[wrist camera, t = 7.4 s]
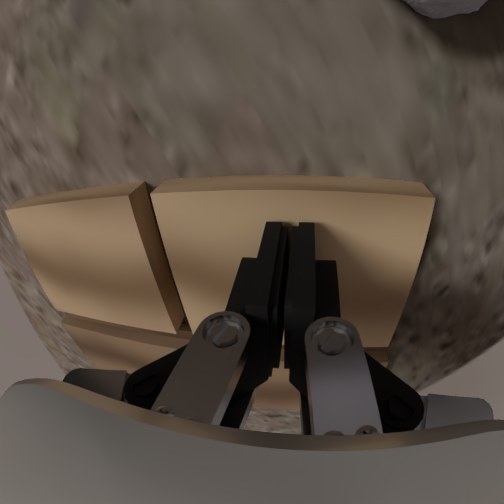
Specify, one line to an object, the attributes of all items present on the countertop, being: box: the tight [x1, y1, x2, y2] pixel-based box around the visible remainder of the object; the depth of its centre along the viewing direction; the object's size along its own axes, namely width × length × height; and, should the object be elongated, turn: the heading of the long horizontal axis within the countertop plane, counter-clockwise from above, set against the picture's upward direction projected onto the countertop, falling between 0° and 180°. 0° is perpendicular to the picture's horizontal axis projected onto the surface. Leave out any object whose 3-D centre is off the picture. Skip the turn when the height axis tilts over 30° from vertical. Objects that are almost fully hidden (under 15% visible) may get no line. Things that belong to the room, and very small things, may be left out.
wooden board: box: [62, 312, 391, 411], centre depth 18 cm, size 8×22×1 cm, turn 95°
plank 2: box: [150, 175, 436, 347], centre depth 12 cm, size 8×10×1 cm
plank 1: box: [5, 181, 185, 334], centre depth 14 cm, size 8×10×1 cm
